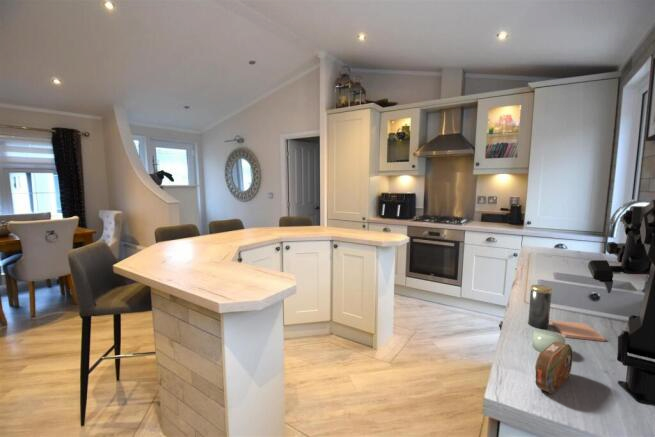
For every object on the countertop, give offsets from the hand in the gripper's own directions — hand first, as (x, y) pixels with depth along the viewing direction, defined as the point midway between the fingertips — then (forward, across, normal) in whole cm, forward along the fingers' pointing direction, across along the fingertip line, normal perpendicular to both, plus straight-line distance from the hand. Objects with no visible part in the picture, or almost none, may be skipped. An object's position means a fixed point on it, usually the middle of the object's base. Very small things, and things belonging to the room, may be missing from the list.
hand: (629, 292), depth 89 cm
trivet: (+12, +12, +5) cm, 18 cm away
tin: (-4, +24, +34) cm, 42 cm away
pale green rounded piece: (+4, +22, +19) cm, 30 cm away
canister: (+11, +22, +4) cm, 25 cm away
